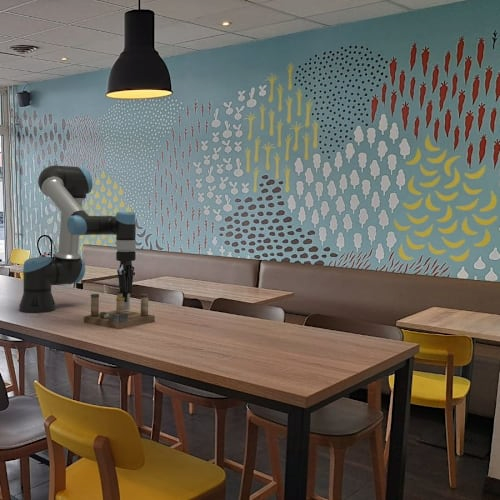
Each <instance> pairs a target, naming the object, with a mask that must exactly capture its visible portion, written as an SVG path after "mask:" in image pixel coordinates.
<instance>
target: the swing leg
mask: <svg viewBox="0 0 500 500" xmlns="http://www.w3.org/2000/svg"><path fill="white" fill-rule="evenodd" d="M115 300H116V303H115V306H116V309H115V311H116V314H124V300H125V297H117V296H116V297H115ZM106 312H107V311H101V312H99V313H100V317H102V318H108V319H109V314H106Z"/></svg>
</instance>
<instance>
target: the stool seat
mask: <svg viewBox="0 0 500 500" xmlns="http://www.w3.org/2000/svg"><path fill="white" fill-rule="evenodd" d="M99 297H100V294H99V293H91V294H90V314H88V315H84V316H83V323H85V324H92V325H95V326H100V327H106V328H110V329H115V330H121V329H125V328H131V327H136V326H141V325H145V324H150V323H155V321H156V317H155V316H156V315H153V314H149V297H150V296H149V294H148V293H141V294H140V312H135V311H130V310H124V314H116V310H111V311H105V312H106V314H109V319H108V318H102V317H100V312H99V310H100V309H99V300H100V299H99ZM116 297H122V294H120V289H119V290H116Z"/></svg>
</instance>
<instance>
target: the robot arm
mask: <svg viewBox="0 0 500 500" xmlns="http://www.w3.org/2000/svg"><path fill="white" fill-rule="evenodd" d="M37 184H38V188H39V190H40V191H41V193H42V194H43V195H44V196H45V197H48V198H49V199H50V200H51V201H52V202H53V203H54V205H55V206H56V207H57V209H58V210H59V211H60V214H61V215H60V226H59V227H60V228H59V239H58V240H59V241H58V251H57V252H56V253H55V254H54V257H53V259H52V257H50V256H35V257H32V258H31V257H30V258H27V259H26V260H25V261H24V263H23V269H22V271H23V272H22V273H23V277H22V278H23V292H22V293H23V294H22V297H21V300H20V302H19V307H18V308H19V309H18V310H19V311H20V312H24V313H48V312H53V311H55V310H56V302H55V300H54V296H53V294H52V286H56V285H57V286H61V285H73V284H78V283H80V282H81V281H82V280H83V279H84V277H85V273H86V265H85V261H84V259H82V255H81V254H80V253H79V243H80V236H91V235H92V236H95V235H96V236H97V235H99V236H100V235H101V236H104V235H105V236H106V235H107V236H109V235H111V236H115V237H116V238H115V240H116V242H115V249H116V252H115V257H116V258H115V260H116V261H119V269H117V270H116V272H117V276H118V286H119V290H120V294H122V297H125V300H124V310H126V311H130V310H131V294H132V293H133V291H132V290H133V281H134V271H135V266H133V263H132V262H134V261H136V260H137V259H136V257H137V256H136V251H135V250H136V247H137V246H136V243H137V241H136V232H137V231H136V227H137V222H136V221H137V220H136V213H135V212H134V211H117V212H116V214H115V215H114V216H113V215H88V213H87V212H86V210H84V208H83V201H84V200H86V199H87V195H88V194H90V193H91V192H92V190H93V178H92V175H91V173H90V171H89V170H88V169H87V168H85V167H80V166H71V165H68V166H67V165H57V164H56V165H49V166H48V167H46V168H44V169H43V170H42V171H41V172H40V174H39V176H38V180H37Z"/></svg>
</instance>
